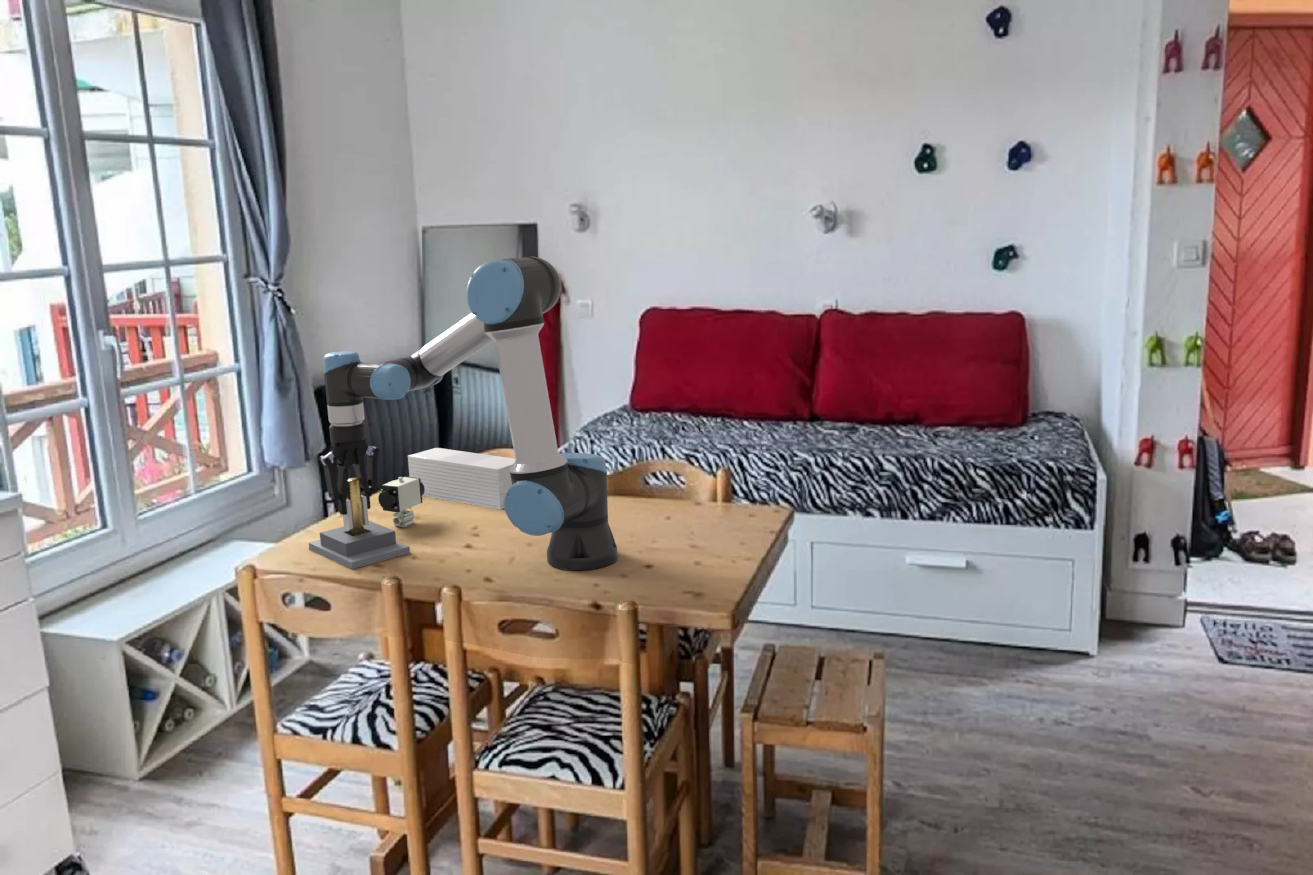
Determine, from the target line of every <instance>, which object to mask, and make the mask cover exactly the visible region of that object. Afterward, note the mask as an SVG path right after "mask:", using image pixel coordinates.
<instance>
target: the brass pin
mask: <svg viewBox="0 0 1313 875" xmlns="http://www.w3.org/2000/svg"><path fill="white" fill-rule="evenodd" d="M361 495H362V494H361V488H360V479H359V478H357V477H350V478H349V477H348V488H347V499H348V500H350V501H351V512H352V522H353V529H349V531H350V535H351V536H356V535H360V534H364V533H365V531H364V520H363V509H362V499H361Z"/></svg>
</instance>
